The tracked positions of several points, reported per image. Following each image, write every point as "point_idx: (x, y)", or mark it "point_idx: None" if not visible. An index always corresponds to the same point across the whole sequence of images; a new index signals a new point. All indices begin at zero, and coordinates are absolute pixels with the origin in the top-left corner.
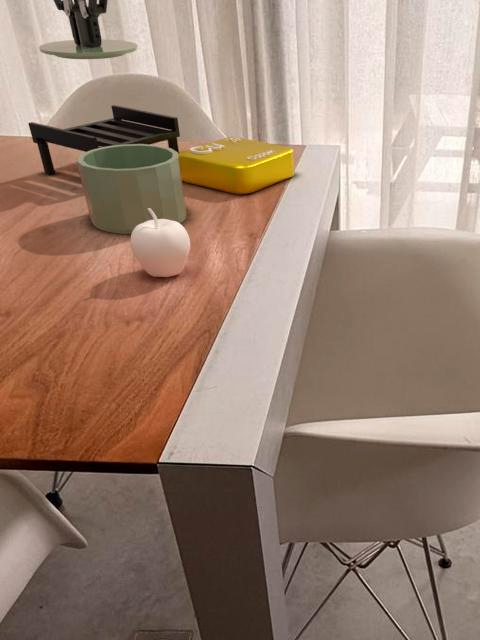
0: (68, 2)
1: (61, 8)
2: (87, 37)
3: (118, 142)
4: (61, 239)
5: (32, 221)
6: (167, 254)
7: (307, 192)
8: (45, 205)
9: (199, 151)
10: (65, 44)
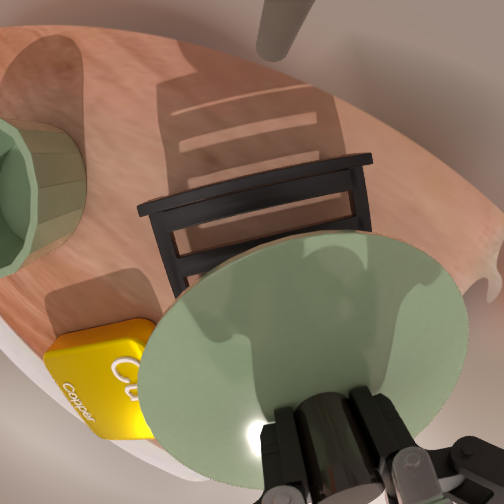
0: (400, 501)
1: (451, 451)
2: (285, 428)
3: (189, 274)
4: (33, 79)
5: (107, 57)
6: None
7: (49, 386)
8: (159, 89)
9: (114, 362)
10: (404, 357)
